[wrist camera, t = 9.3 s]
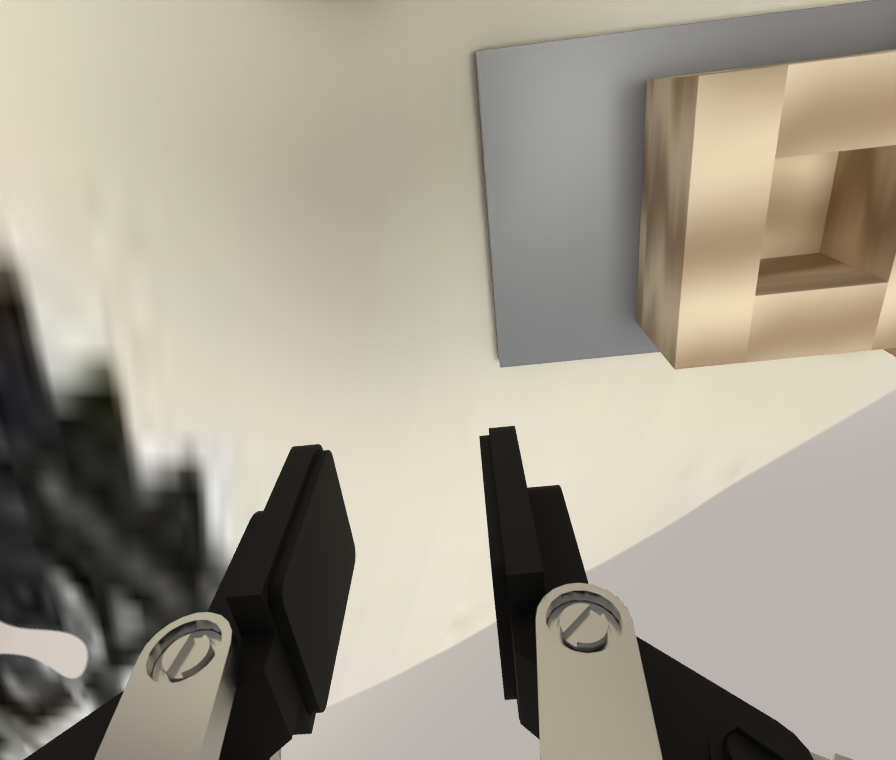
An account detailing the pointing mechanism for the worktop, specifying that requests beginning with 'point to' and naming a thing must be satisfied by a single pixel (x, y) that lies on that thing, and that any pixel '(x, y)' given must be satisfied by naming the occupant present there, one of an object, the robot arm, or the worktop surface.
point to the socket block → (770, 211)
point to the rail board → (607, 163)
